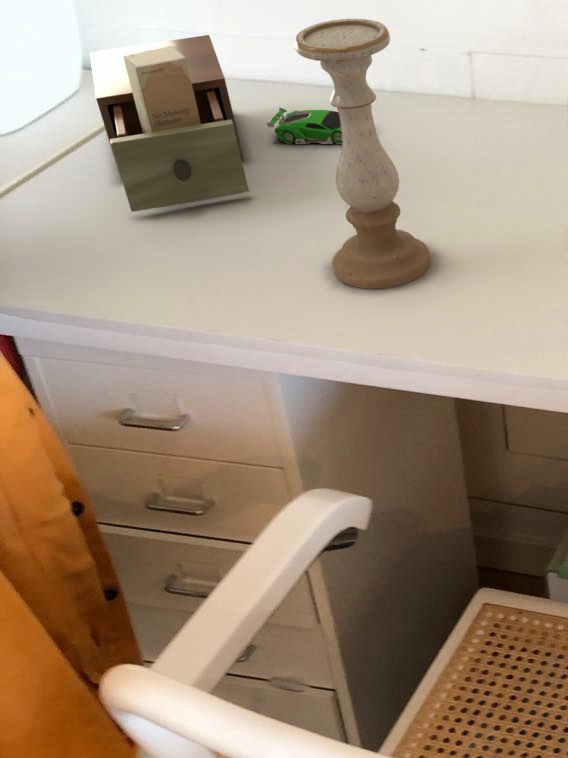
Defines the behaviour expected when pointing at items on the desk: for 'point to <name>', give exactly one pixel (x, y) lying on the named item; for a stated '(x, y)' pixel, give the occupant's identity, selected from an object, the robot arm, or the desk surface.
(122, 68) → the cabinet
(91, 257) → the desk surface
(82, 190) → the desk surface
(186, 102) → the box
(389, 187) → the candle holder
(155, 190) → the drawer
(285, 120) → the toy car
